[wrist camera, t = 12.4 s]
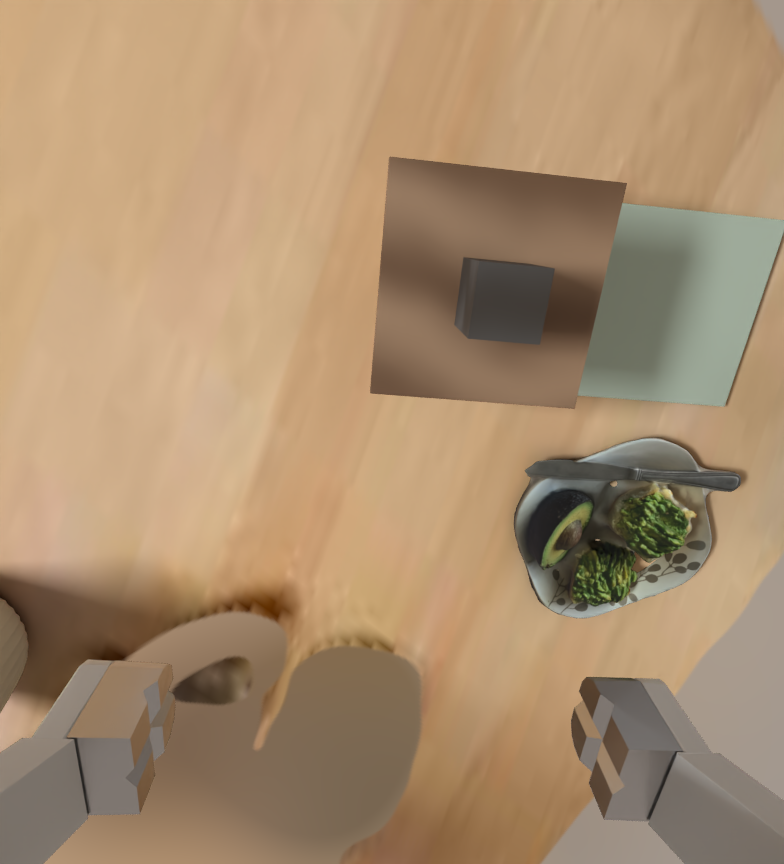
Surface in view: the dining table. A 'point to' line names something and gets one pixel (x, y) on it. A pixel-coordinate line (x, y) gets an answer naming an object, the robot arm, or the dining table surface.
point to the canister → (11, 651)
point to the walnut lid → (489, 282)
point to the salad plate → (615, 525)
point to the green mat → (678, 304)
